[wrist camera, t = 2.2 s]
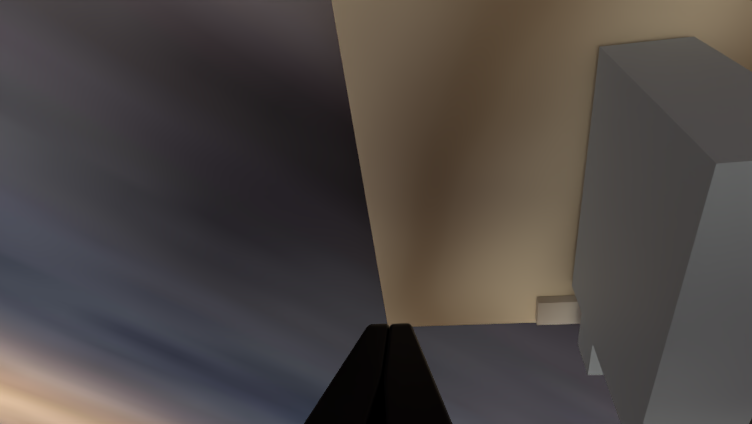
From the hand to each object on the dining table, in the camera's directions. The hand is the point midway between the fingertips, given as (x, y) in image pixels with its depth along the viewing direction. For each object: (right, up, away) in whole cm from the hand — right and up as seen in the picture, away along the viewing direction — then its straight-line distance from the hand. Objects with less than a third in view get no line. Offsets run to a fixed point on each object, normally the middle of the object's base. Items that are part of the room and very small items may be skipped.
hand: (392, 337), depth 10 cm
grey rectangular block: (+9, +3, +4) cm, 10 cm away
